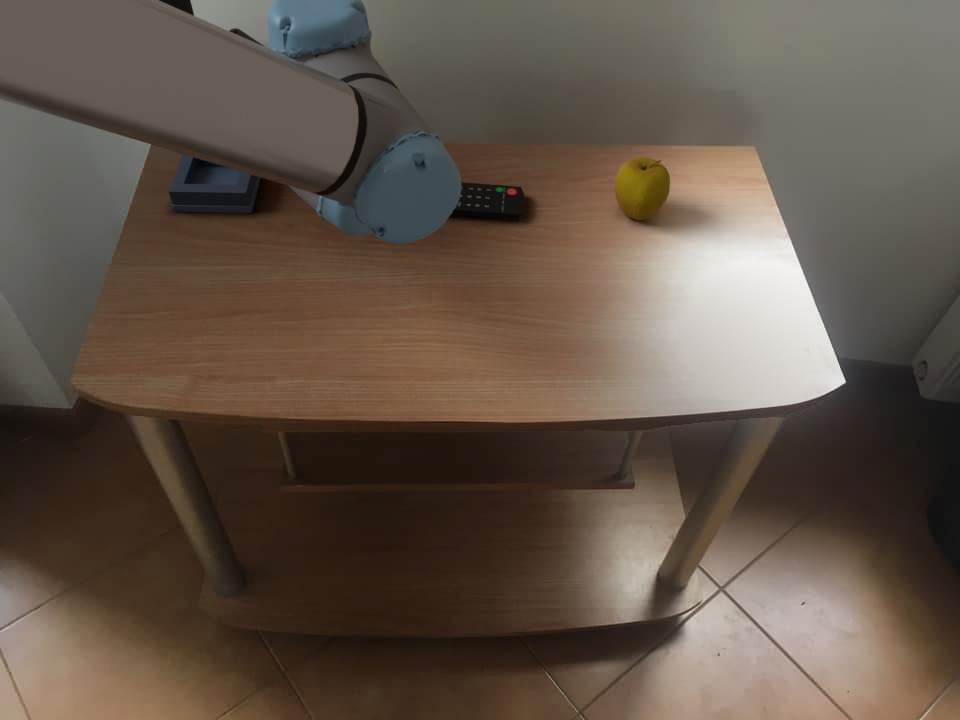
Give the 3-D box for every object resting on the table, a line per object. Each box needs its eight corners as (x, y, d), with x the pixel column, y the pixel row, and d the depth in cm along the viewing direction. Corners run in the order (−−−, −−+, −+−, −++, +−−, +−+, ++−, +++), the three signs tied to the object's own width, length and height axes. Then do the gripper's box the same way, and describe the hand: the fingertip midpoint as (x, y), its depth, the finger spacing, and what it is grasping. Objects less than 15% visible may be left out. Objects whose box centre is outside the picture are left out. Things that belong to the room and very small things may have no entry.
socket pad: (173, 212, 93) (166, 191, 91) (190, 164, 99) (184, 144, 97) (251, 213, 94) (246, 193, 91) (264, 166, 100) (259, 146, 97)
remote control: (333, 181, 98) (332, 172, 97) (524, 195, 98) (525, 187, 97) (325, 208, 95) (323, 199, 94) (523, 223, 94) (524, 214, 93)
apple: (672, 218, 96) (688, 164, 90) (633, 236, 94) (646, 182, 87) (638, 190, 99) (651, 136, 93) (599, 207, 97) (609, 152, 91)
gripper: (206, 194, 73) (94, 87, 84) (354, 126, 81) (234, 36, 92) (185, 124, 68) (67, 19, 78) (347, 58, 75) (219, -30, 86)
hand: (157, 28), depth 85 cm, fingers closed on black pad, 4 cm apart
